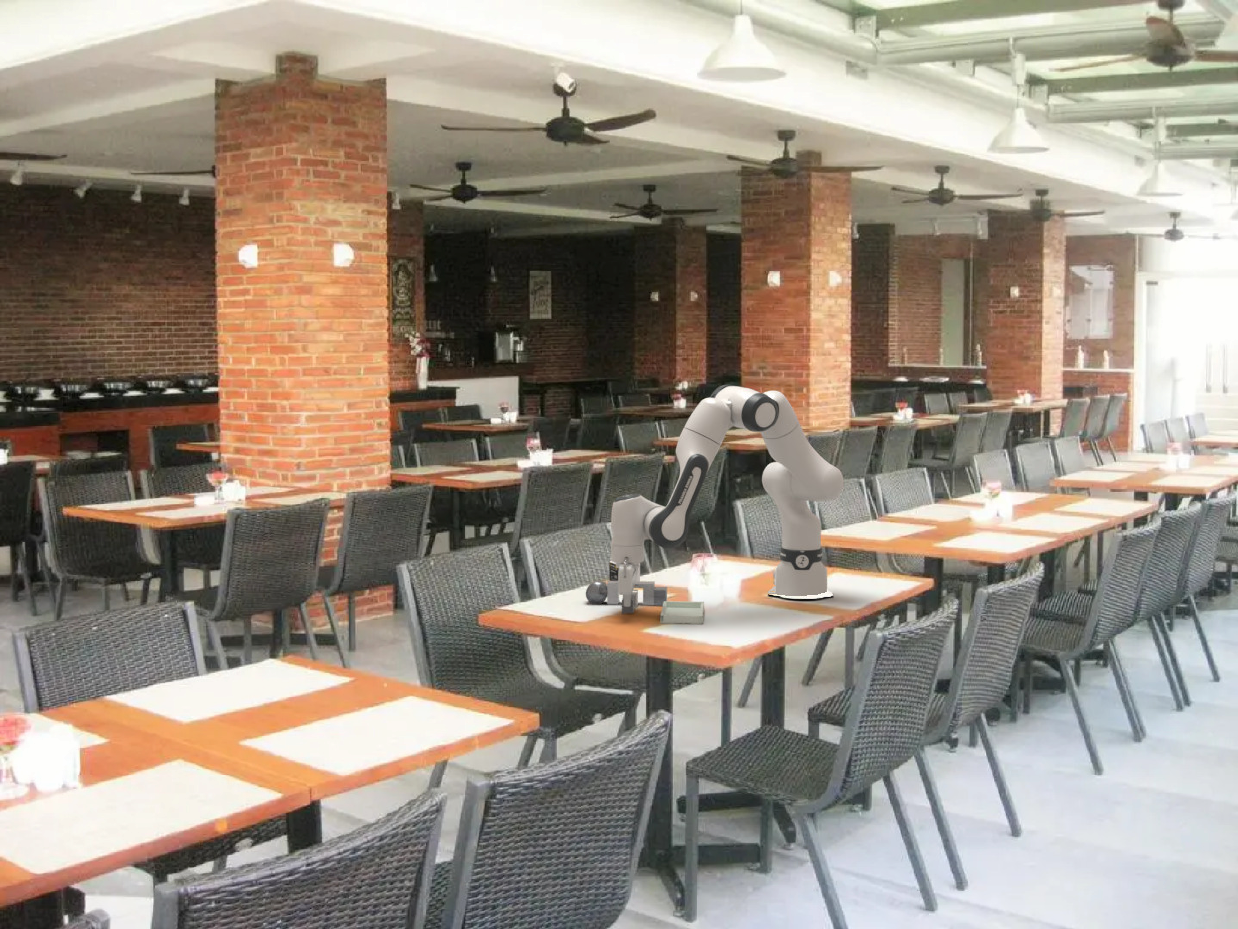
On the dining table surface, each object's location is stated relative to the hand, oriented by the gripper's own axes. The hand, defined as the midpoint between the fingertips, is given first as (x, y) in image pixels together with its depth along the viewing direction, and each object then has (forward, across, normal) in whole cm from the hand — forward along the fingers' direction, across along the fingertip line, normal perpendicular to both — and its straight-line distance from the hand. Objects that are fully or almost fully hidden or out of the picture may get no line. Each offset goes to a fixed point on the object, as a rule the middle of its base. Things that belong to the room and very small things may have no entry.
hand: (627, 605), depth 357 cm
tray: (+2, 0, -15) cm, 15 cm away
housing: (+2, +16, +1) cm, 16 cm away
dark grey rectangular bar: (+2, +8, 0) cm, 9 cm away
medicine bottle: (+3, +45, +4) cm, 45 cm away
